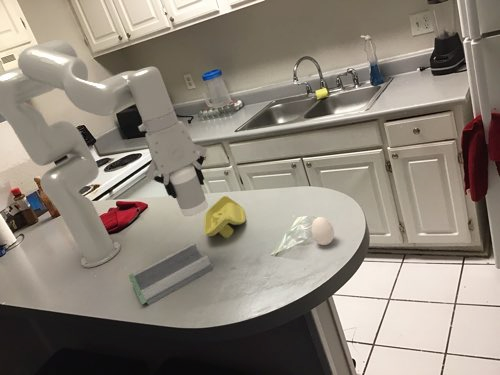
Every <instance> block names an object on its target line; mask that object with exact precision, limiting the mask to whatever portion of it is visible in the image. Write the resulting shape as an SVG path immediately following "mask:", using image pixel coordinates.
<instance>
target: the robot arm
mask: <svg viewBox="0 0 500 375" xmlns="http://www.w3.org/2000/svg"><path fill="white" fill-rule="evenodd" d="M17 65H18V67H15V68H11V69H8V70H5V71H3V72H1V73H0V115H1V116H2V117H3V119H5V121H7V123H8V124H9V126H10V127H11V128H12V130H13V131H14V134H15V135H16V136H17V137H16V138H18V140H19V141H20V144H21V145H22V148H24V151H26V153H27V155H28V156H29V158H30V160H31V161H32V162H33V163H35V164H36V165H37V166H41V167H43V166H48V165H50V164H52V163H54V162H56V161H58V160H60V159H62V158H63V157H65V156H67V159H66V160H64V161H62V162H60V163H58V164H56V165H55V166H53V167H51V168H50V169H48V170H46V172H45V173H44V174H43V175H42V177H41V178H40V187H41V189H42V191H43V193H44V194H45V195H46V196H47V198H48V199H49V200H50V202H51V203H53V205H54V207H55V208H56V210H57V212H58V213H59V215H60V216H61V219H62V220H63V222H64V223H65V225H66V227H67V228H68V230H69V233H70V234H71V236H72V238H73V240H74V242H75V243H76V245H77V247H78V248H79V250H80V253H81V255H82V258H81V260H80V264H81V266H82V267H83V268H96V267H99V266H101V265H102V264H104V263H106V262H108V261H110V260H111V259H113V258H114V257H115V256H117V255H118V253H119V252H120V251H121V245H120V243H119V242H118V241H112V238H111V236H110V235H109V232H108V231H107V229H106V227H105V225H104V223H103V220H102V219H101V217H100V215H99V213H98V211H97V209H96V207H95V205H94V204H93V203H94V202H92V200H90V198H88V197H87V196H85V195H83V194H81V193H80V191H81V190H83V188H85V187H87V185H89V184H91V183H93V181H95V180H96V179H97V178H98V176H99V171H100V170H99V166H98V163H97V161H96V159H95V158H94V155H93V154H92V152H91V150H90V148H89V147H88V145H87V143H86V141H85V139H84V137H83V134H81V132H80V130H79V129H78V128H77V127H76V126H75V125H73V124H72V123H71V122H69V121H66V120H65V121H63V120H61V121H58V122H55V123H53V124H50V125H49V124H48V123H47V121H46V119H45V117H44V116H43V113H42V112H41V111H40V110H38V109H37V108H35V106H33V105H31V104H29V103H27V102H26V101H29V100H32V99H34V98H36V97H39V96H42V95H45V94H46V93H49V92H52V91H54V90H55V89H59V90H61V91H64V93H65V95H66V97H67V99H69V100H68V101H70V103H71V104H73V105H74V106H75V107H76V108H77V109H79V110H81V111H84V112H86V113H89V114H93V115H96V116H100V117H111V116H113V115H117V113H120V112H122V111H123V110H125V109H127V108H129V107H131V106H133V105H135V106H136V108H137V110H138V113H139V115H140V118H141V120H142V121H141V122H142V123H141V124H140V125H138V126H137V128H138V130H139V131H140V132H146V133H145V141H146V144H147V148H148V152H149V154H150V157H151V162H150V164H149V165H148V167H147V169H146V172H145V174H144V176H145V177H146V178H148V179H150V180H152V181H154V182H156V183H160V184H162V185H163V186H164V189H165V190H166V194H167V195H168V197H170V196H171V197H172V198H173V199H175V200H176V197H177V196H176V193H175V191H174V188H173V186H172V184H171V183H170V182H169V173H172V172H174V171H176V170H178V169H181V168H183V167H185V166H187V165H189V164H192V165H193V166H194V168H195V171H196V174H197V176H198V179H199V182H200V184H201V186H203V185H205V182H204V180H205V177H204V173H203V172H202V168H203V163H204V161H205V157H206V155H207V151H208V149H207V148H206V147H204V146H201V145H198V144H195V143H194V141H193V139H192V137H191V134H190V133H189V131H188V129H187V126H186V125H185V124H184V122H183V121H181V120H179V119H178V117H177V114H176V112H175V109H174V106H173V104H172V101H171V98H170V95H169V93H168V90H167V88H166V85H165V82H164V80H163V77H162V74H161V72H160V70H159V69H158V67H155V66H147V67H144V68H140V69H138V70H128V71H123V72H119V73H117V74H115V75H112V76H110V77H108V78H106V79H104V80H101V81H99V82H92V81H88V79H89V72H88V67H87V65H86V63H85V62H84V61H83V60H82V59H81V58H79V57H78V54H77V52H76V50H75V48H73V46H72V45H71V44H69V43H68V42H66V41H65V40H60V39H54V40H50V41H46V42H43V43H39V44H35V45H31V46H29V47H26V48H25V49H24V50H22V51H21V53H20V54H19V56H18V59H17ZM198 152H199V153H198ZM155 170H156V171H157V172H159V173H160V175H158V174H154V173H155Z"/></svg>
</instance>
